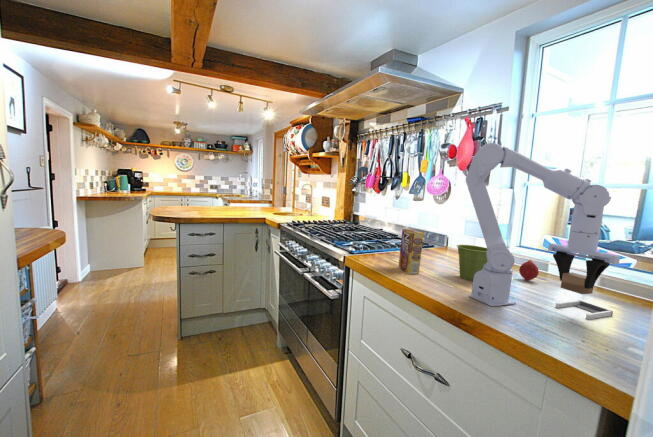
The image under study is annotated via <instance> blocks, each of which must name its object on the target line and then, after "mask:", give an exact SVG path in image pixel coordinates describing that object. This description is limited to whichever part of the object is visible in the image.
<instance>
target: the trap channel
mask: <svg viewBox="0 0 653 437" xmlns="http://www.w3.org/2000/svg"><path fill="white" fill-rule="evenodd" d="M567 307H568V308H569V307H575V308H578V309H581V310H583V311H587V312H588V313H586V314H585V319H586V320H594V319H599V318H606V317H612V316H613V313H614V311H613V310H610V309H608V308H604V307H601V306H598V305H595V304H593V303H589V302H586V301H583V300H580V299H578V300H570V301H563V302H556V303H555V307H554V308H556V309H563V308H567ZM589 312H590V313H589Z"/></svg>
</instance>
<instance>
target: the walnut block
mask: <svg viewBox="0 0 653 437" xmlns="http://www.w3.org/2000/svg"><path fill="white" fill-rule="evenodd" d="M585 281H586V275H585V274H580V273H575V272H569V273H563V275H562V281H560V282H561V283H560V289H564V290H567V291H571V292H573V293H577V294H580V295H589V294H593V291H594V287H593V288H591V289H587V288H585Z"/></svg>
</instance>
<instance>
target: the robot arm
mask: <svg viewBox="0 0 653 437" xmlns="http://www.w3.org/2000/svg"><path fill="white" fill-rule="evenodd" d="M499 164H500V167H499V168H515V169H516V170H518V171H521V172H523V173H524V174H527V175H530V176H532V177H534V178H536V179H539V180H540V181H542V182H543V187H544V188H545V189H547V190H549V191H551V192H553V193H555V194H558V195H560V196H561V197H563V198H565V199H567V200H571V202H572V203H573V204H574V206H573V212H572V216H571V222H570V227H569V228H570V229H569V234H568V239H567V240H568V241H567V245H563V244H558V243H548V250H547V251H550V252H555V253H553V254H552V257H553V258H554V259H553V260H554V261H555V264H556V266H557V270H558V275H559V280H560V282H562V275H563V273H570V271H571V270H570V269H571V266H572V262H573V261H574V258H575V257H579V258H584V259H586V260H585V265H586V275H585V276H586V281H585V288H587V289H591V288H593V289H594V286H595V284H596V282H597V280H598V279H599V277H600V276H601V274H602V273H604V271H605V270H607V269H608V268H609V266H610V265H619V264H620V260H621V256H620V255H616V254H611V253H607V252H602V251H597V250H598V246H599V240H600V234H601V230H602V228H601V227H602V223H603V217H604V215H603V214H604V209H605V207H606V206H607V205H608V204H609V203H610V201H611V199H612V197H611V196H610V193H609V192H610V191H608V189H607V188H606V187H604V186H603V185H600V184H591V182H592V180H591V179H589V178H585V179H584V178H582V177H579V176H578V175H575V174H573V173H572V170H571V169H569V168H564V169H562V168H560V167H559V168H555V169H550V168H548V167H547V166H545V165H542V164H540V163H539V162H537V161H535V160H534V159H531V158H529V157H527V156H525V155H523V154H522V153H519V152H517V151H516V150H513V149H511V148H509V147H507V146H501V145H500V144H498V143H495V142H489V143H485V144H483V145H482V146H481V147H480V148H479V149H478V150H477V151H476V152H475V153H474V155H473V157H472V160H471V162H470V166H469V169H468V172H467V174H466V177H465V183H466V186H467V189H468V192H469V195H470V199H471V202H472V205H473V207H474V211H475V214H476V218H477V220H478V224H479V226H480V229H481V233H482V236H483V239H484V243H485V245H486V248H487V251H486V257H487V260H488V262H487V263H486V264H484V266H483V269H482V270H481V271H478V272H476V273H475V275H474V278H473V281H472V286H471V293H469V294H468V297H470V298H472V299H475V300H477V301H480V302H481V303H483V304H486V305H488V306H490V307H499V306H507V305H515V304H517V303H516V302H517V301H514V300H513V299H510V294H511V293H510V292H511V287H512V278H513V272H514V270H513V269H512V268H513V267H514V265H515V261H516V260H515V257H514V255H513V253H511V251H510V250H509V248H508V247H507V246H506V243H505V240H504V237H503V235H502V231H501V229H500V226H499V223H498V220H497V216H496V213H495V210H494V208H493V204H492V200H491V197H490V196H489V192H488V189H487V186H486V182H485V181H486V180H487V179H488V178H487V177H488V176H489V175H490V173H491V172H492V171H493V170H494V169H495V168H496V167H497V166H498V165H499ZM587 259H588V260H587Z"/></svg>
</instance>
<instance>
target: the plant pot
mask: <svg viewBox="0 0 653 437" xmlns="http://www.w3.org/2000/svg"><path fill="white" fill-rule="evenodd" d="M456 248H457V253H458V261H459V262H458V264H459V265H458V266H459V277H460V278H461V279H464V280H466V281H471V282H473V278H474V275H475V273H476V272H478V271H481V270H482V269H483V266H484V264H486V263H487V262H488V260H487V257H486V251H487V247H483V246H478V245H473V244H472V245H471V244H456Z"/></svg>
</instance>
